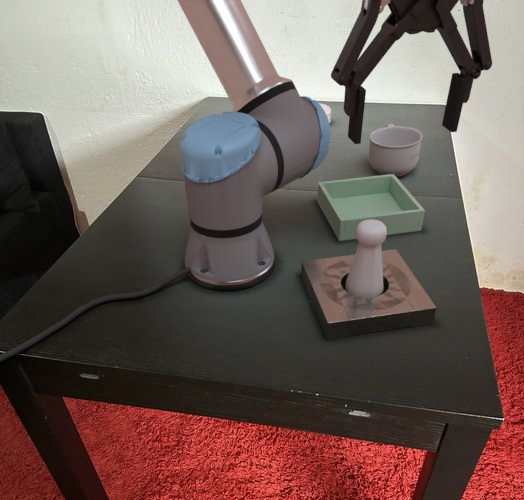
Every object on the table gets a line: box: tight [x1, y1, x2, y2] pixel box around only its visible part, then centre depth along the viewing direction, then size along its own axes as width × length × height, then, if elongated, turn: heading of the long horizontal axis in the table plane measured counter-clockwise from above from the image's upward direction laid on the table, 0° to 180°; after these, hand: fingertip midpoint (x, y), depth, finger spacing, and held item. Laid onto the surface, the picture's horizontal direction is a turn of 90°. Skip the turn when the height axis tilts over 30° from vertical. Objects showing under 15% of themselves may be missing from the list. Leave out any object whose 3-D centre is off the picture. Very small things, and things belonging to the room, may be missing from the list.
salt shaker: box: [344, 219, 388, 298], centre depth 77 cm, size 6×6×13 cm
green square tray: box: [316, 174, 426, 242], centre depth 100 cm, size 16×16×4 cm
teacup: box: [368, 123, 424, 178], centre depth 113 cm, size 14×11×8 cm
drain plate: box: [300, 248, 437, 340], centre depth 81 cm, size 16×16×3 cm
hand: (402, 134), depth 70 cm, fingers open, 13 cm apart
